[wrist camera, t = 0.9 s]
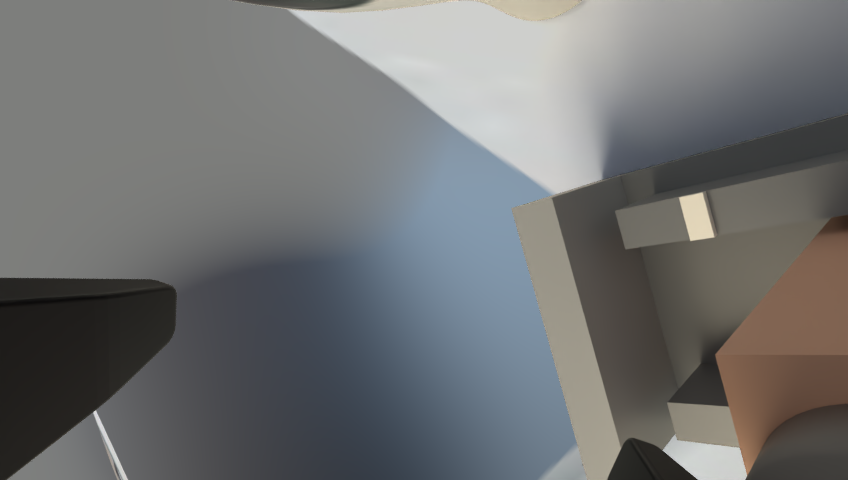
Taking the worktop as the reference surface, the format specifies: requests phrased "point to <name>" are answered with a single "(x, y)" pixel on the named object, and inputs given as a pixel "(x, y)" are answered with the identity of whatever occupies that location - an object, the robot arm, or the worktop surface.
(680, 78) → the worktop surface
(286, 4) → the beer glass
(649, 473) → the robot arm
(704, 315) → the socket track
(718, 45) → the worktop surface
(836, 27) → the worktop surface
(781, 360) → the plug
